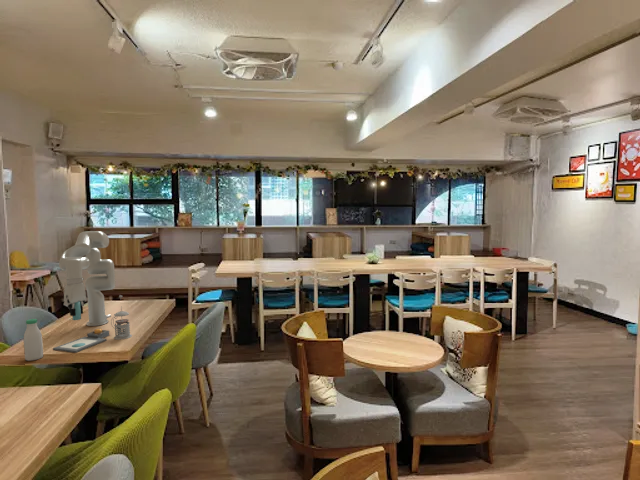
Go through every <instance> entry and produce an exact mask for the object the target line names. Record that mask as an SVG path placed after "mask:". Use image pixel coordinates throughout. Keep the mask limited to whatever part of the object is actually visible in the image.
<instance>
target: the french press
mask: <svg viewBox="0 0 640 480" xmlns="http://www.w3.org/2000/svg"><path fill="white" fill-rule="evenodd" d="M118 298H120V299H122V298H123V295H121V294H119V296H118ZM122 308H123V307H120V310H121V311H118V312H116V313H114V314H113V318H111V319H110V325H111V327H113V329H114V334H115V336H114V337H113V339H114V340H118V341H119V340H120V341H121V340H125V339H129V338H131V337H132V336H133V335H132V334H131V332H130V331H131V330H130V329H131V328H130V322H129V321H130V320H129V319H127V318H126V319H124V318H121V319H117V318H118V317H126V316H128V315H130V313H129V312H128V311H126V310H125V311H123V310H122ZM114 319H115V323H114ZM116 319H117V320H116ZM112 323H113V324H112Z"/></svg>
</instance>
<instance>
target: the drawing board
mask: <svg viewBox="0 0 640 480" xmlns="http://www.w3.org/2000/svg"><path fill="white" fill-rule="evenodd" d="M106 341H107V338H93V337H87V336H82V337H79V338H78V339H74V340H71V341H69V342H65V343H63V344H61V345H57V346H56V347H55V346H54V347H53V348H52V350H53V351H60V352H68V353H79V352H81V351H83V350H86V349H89V348H92V347H94V346H97V345H99V344H102V343H104V342H106Z"/></svg>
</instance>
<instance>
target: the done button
mask: <svg viewBox="0 0 640 480" xmlns="http://www.w3.org/2000/svg"><path fill="white" fill-rule="evenodd" d="M102 330H103V329H102V328H96V329H94V333H96V334H99V333H101V332H102Z"/></svg>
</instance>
